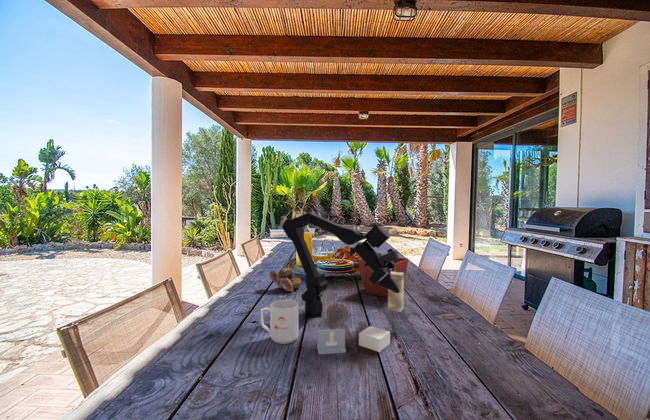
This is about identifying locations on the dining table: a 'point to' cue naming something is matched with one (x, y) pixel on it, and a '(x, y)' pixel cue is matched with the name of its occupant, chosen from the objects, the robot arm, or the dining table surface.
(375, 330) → the white slab
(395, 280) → the maple pillar
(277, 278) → the brown lumpy cluster
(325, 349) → the plaque
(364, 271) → the plant pot
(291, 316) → the mug
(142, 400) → the dining table surface
